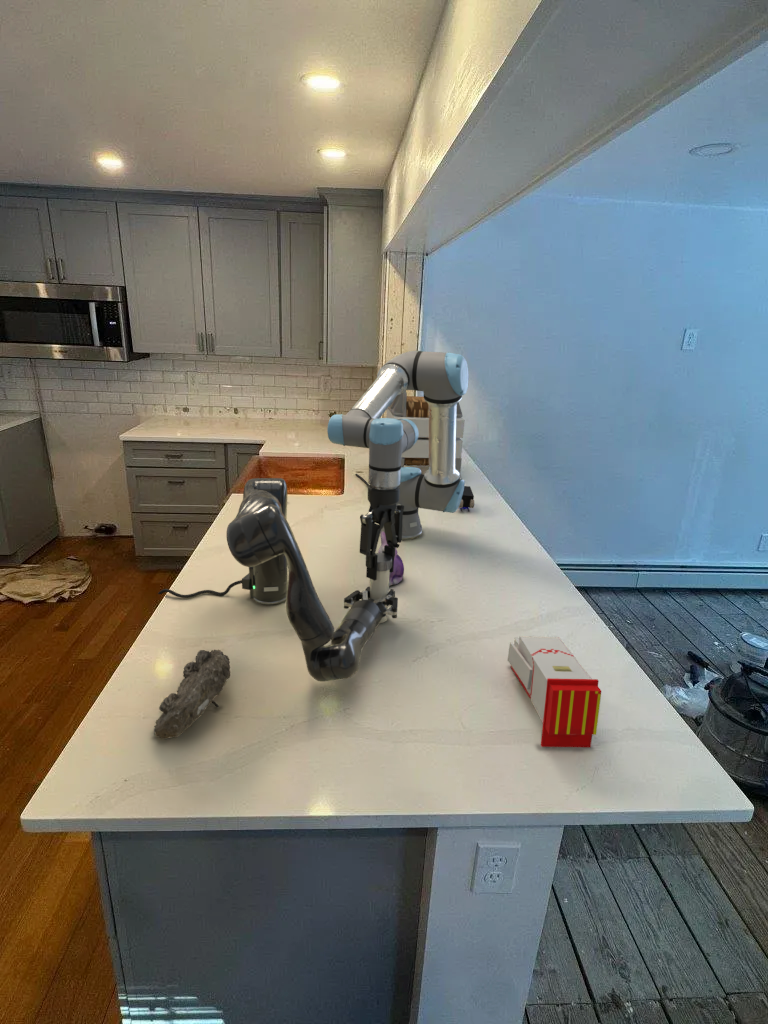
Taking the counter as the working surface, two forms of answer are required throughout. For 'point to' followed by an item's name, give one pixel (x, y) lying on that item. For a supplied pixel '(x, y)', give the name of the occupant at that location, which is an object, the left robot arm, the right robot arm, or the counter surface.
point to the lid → (383, 562)
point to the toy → (557, 690)
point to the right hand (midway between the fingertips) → (380, 574)
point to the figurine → (398, 563)
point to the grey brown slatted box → (422, 429)
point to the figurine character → (467, 499)
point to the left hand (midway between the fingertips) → (382, 590)
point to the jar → (380, 587)
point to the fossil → (193, 693)
